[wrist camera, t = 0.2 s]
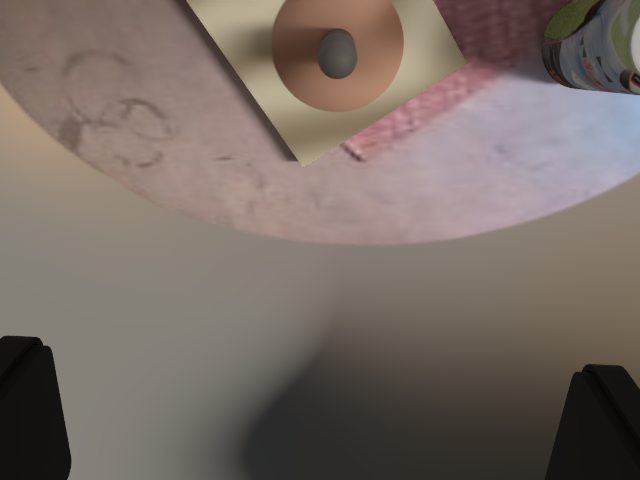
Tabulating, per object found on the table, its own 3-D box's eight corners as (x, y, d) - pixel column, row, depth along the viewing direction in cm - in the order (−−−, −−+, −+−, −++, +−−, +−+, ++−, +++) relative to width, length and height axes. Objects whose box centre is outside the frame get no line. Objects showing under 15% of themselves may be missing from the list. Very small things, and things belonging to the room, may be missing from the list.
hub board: (175, -24, 41) (136, -21, 34) (344, -157, 38) (346, -189, 30) (304, 161, 47) (297, 201, 39) (463, 60, 43) (491, 82, 35)
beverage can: (523, 74, 44) (585, 111, 33) (562, -34, 41) (644, -33, 30) (604, 93, 44) (691, 136, 33) (648, -12, 41) (761, -3, 30)
